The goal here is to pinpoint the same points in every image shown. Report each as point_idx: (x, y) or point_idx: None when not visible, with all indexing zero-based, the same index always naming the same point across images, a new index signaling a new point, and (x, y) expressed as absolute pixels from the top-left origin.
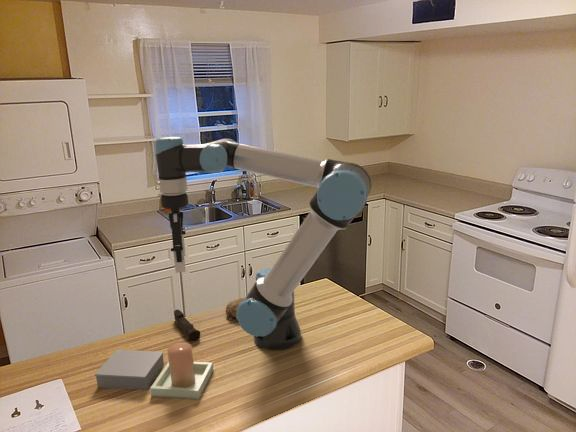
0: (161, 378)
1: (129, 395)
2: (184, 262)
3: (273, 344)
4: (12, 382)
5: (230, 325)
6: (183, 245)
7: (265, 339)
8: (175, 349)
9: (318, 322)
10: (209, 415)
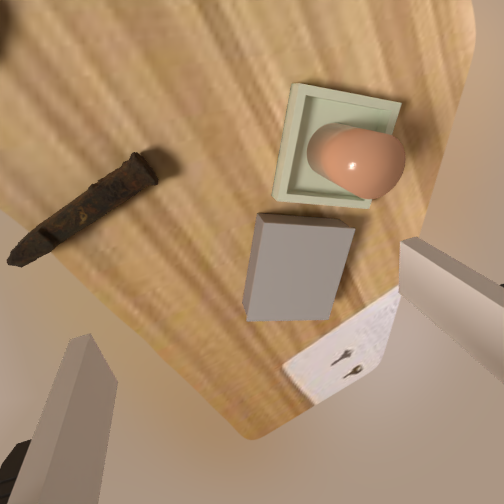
0: (336, 197)
1: None
2: (468, 268)
3: None
4: (284, 416)
5: (24, 55)
6: (72, 418)
7: None
8: (377, 178)
9: None
10: (440, 68)
